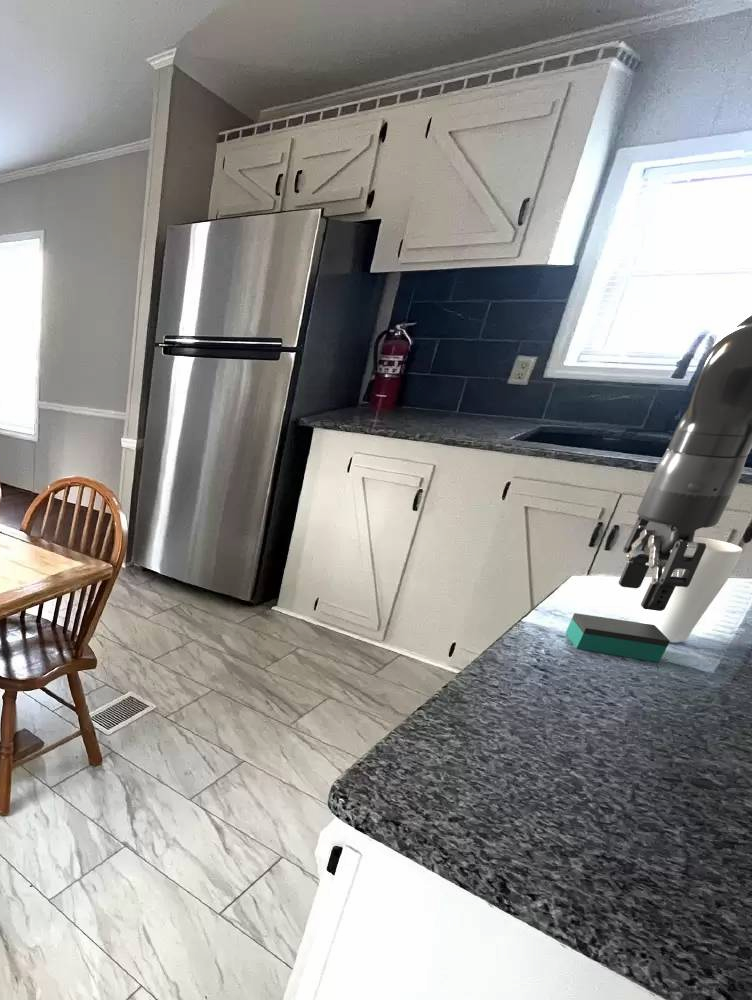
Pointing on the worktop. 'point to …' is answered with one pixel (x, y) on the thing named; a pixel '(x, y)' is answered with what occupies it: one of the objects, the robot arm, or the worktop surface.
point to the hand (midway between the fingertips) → (639, 597)
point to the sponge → (617, 637)
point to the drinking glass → (696, 591)
